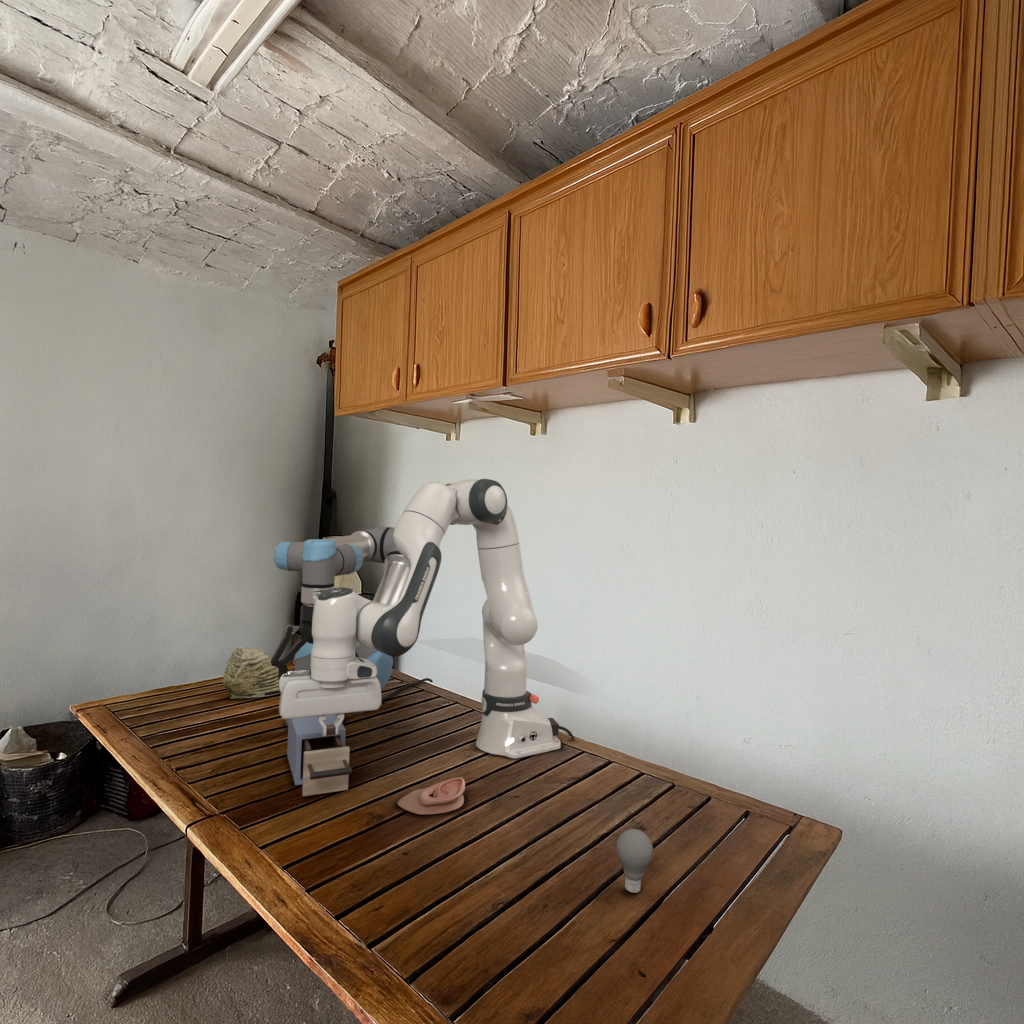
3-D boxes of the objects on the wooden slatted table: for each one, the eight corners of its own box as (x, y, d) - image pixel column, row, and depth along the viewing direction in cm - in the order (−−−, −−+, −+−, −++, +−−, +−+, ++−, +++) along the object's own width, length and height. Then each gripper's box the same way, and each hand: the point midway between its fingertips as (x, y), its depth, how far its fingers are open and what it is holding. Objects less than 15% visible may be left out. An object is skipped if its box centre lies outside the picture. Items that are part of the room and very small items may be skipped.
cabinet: (343, 778, 143) (345, 729, 143) (295, 785, 138) (296, 735, 138) (331, 750, 158) (333, 706, 158) (287, 755, 154) (288, 710, 154)
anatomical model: (392, 791, 129) (412, 768, 140) (391, 810, 129) (411, 786, 140) (454, 800, 126) (470, 776, 137) (454, 820, 126) (469, 794, 137)
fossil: (218, 695, 195) (220, 647, 195) (278, 685, 208) (279, 640, 207) (228, 703, 189) (230, 653, 188) (289, 692, 201) (290, 645, 201)
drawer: (353, 802, 130) (355, 758, 130) (306, 809, 126) (308, 765, 126) (335, 761, 149) (336, 723, 149) (294, 766, 145) (295, 727, 145)
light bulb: (610, 879, 108) (613, 822, 108) (644, 879, 109) (647, 822, 109) (619, 902, 102) (622, 840, 102) (655, 901, 103) (658, 840, 103)
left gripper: (262, 608, 143) (259, 701, 144) (372, 604, 154) (369, 691, 154) (260, 603, 150) (257, 691, 150) (366, 599, 161) (363, 682, 161)
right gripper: (280, 675, 123) (277, 746, 123) (384, 668, 131) (382, 734, 132) (277, 667, 128) (275, 735, 129) (377, 660, 137) (375, 724, 137)
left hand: (314, 691), depth 152 cm, fingers open, 13 cm apart
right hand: (330, 734), depth 130 cm, fingers closed
